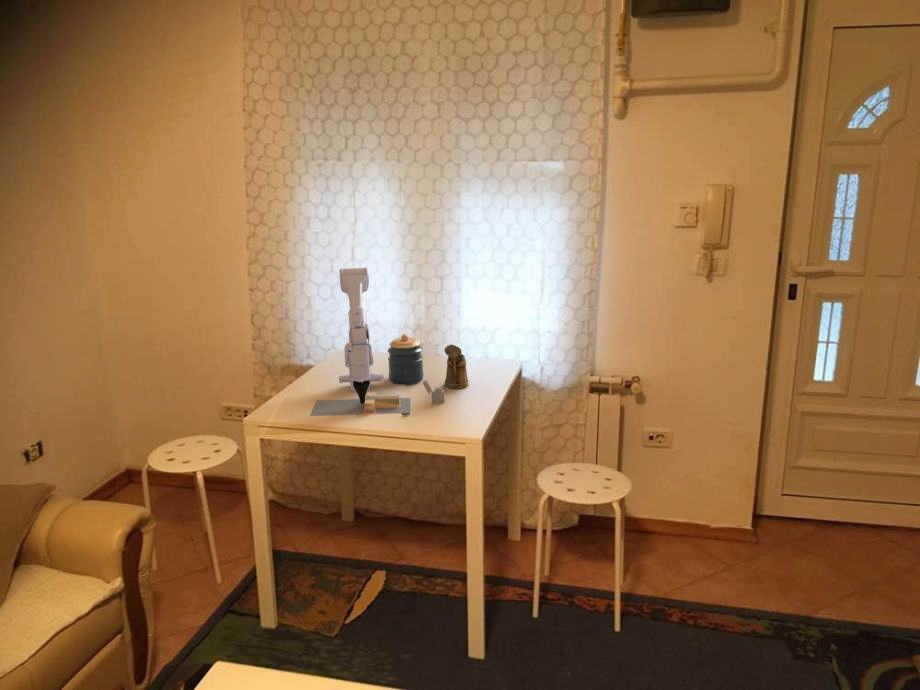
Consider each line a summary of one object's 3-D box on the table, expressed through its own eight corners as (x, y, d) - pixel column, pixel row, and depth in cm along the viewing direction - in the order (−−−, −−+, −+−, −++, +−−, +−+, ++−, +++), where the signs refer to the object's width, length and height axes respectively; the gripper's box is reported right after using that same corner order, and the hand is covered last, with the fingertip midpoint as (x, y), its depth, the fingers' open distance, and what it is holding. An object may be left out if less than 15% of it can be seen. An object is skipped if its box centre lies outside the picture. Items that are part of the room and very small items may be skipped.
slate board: (316, 403, 236) (316, 400, 236) (410, 400, 238) (410, 397, 237) (310, 418, 223) (309, 415, 223) (409, 415, 224) (409, 412, 224)
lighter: (444, 401, 236) (443, 379, 234) (444, 403, 235) (443, 381, 232) (423, 402, 236) (422, 380, 233) (423, 404, 234) (422, 381, 232)
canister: (409, 387, 250) (407, 340, 245) (381, 381, 257) (379, 335, 252) (430, 377, 260) (429, 332, 255) (403, 372, 267) (401, 328, 262)
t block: (367, 399, 236) (367, 391, 235) (400, 398, 236) (399, 390, 235) (364, 412, 224) (364, 404, 223) (398, 411, 225) (398, 403, 224)
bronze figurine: (439, 393, 244) (438, 344, 239) (447, 380, 257) (446, 334, 252) (464, 394, 243) (463, 345, 238) (470, 381, 255) (470, 334, 250)
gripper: (336, 367, 222) (339, 407, 225) (382, 366, 222) (383, 406, 226) (339, 361, 228) (341, 399, 232) (383, 359, 229) (385, 398, 233)
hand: (362, 402), depth 230 cm, fingers closed
